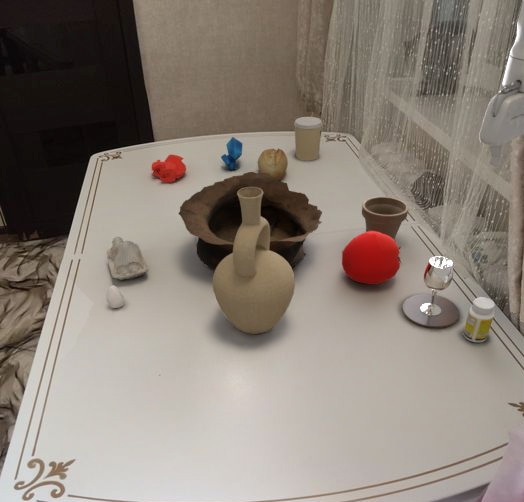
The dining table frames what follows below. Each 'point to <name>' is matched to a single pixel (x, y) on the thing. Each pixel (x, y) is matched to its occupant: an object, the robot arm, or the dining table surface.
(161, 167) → the animal figurine
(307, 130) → the coffee cup
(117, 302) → the egg
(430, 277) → the wineglass
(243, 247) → the vase
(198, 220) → the bowl
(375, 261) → the red ball
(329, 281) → the dining table surface
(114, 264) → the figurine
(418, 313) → the coaster
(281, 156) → the bread roll
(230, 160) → the crystal
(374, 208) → the flower pot
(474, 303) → the supplement bottle
